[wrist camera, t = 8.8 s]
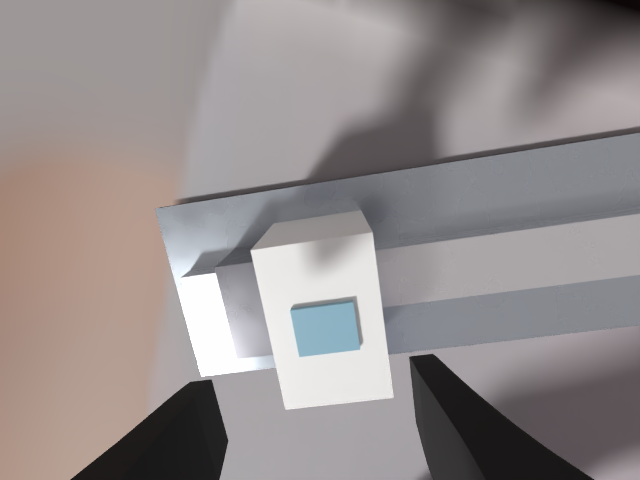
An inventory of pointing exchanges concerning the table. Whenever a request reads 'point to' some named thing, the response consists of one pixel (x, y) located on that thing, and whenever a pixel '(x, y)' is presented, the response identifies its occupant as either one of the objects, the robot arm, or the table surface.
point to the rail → (435, 250)
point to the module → (324, 310)
